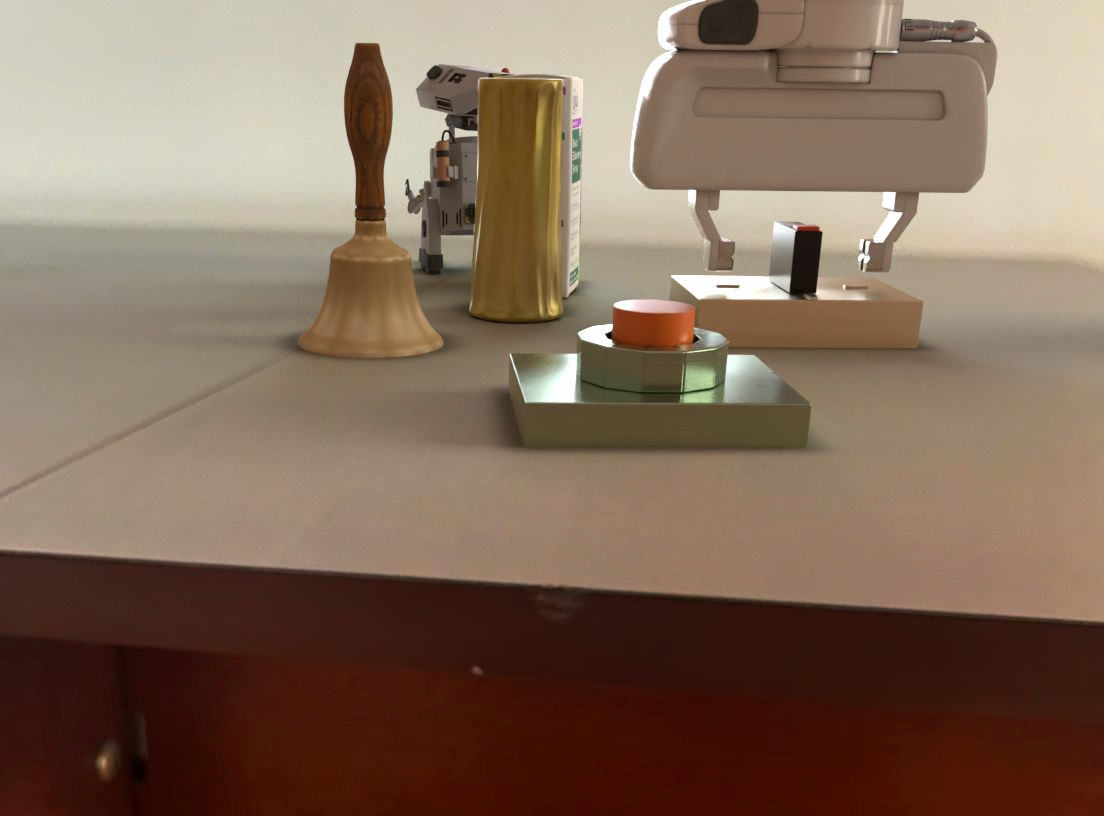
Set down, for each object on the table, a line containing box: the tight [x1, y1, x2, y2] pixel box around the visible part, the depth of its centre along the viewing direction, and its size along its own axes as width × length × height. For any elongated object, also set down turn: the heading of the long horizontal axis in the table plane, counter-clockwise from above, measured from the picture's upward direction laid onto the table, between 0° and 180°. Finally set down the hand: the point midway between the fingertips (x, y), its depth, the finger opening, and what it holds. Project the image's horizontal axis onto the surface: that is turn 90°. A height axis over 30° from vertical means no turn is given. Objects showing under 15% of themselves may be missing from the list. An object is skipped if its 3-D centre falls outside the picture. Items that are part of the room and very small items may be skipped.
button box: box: [508, 323, 812, 449], centre depth 59 cm, size 12×10×4 cm
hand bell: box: [297, 42, 445, 359], centre depth 72 cm, size 8×8×16 cm
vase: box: [468, 78, 564, 324], centre depth 83 cm, size 6×6×14 cm
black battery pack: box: [768, 221, 824, 293], centre depth 78 cm, size 5×2×4 cm, turn 3°
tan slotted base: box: [669, 274, 924, 349], centre depth 80 cm, size 13×9×3 cm
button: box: [611, 298, 695, 346], centre depth 58 cm, size 4×4×2 cm
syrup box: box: [493, 73, 584, 299], centre depth 92 cm, size 6×6×14 cm
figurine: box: [404, 63, 516, 274], centre depth 103 cm, size 9×12×15 cm
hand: (795, 270), depth 79 cm, fingers open, 8 cm apart
